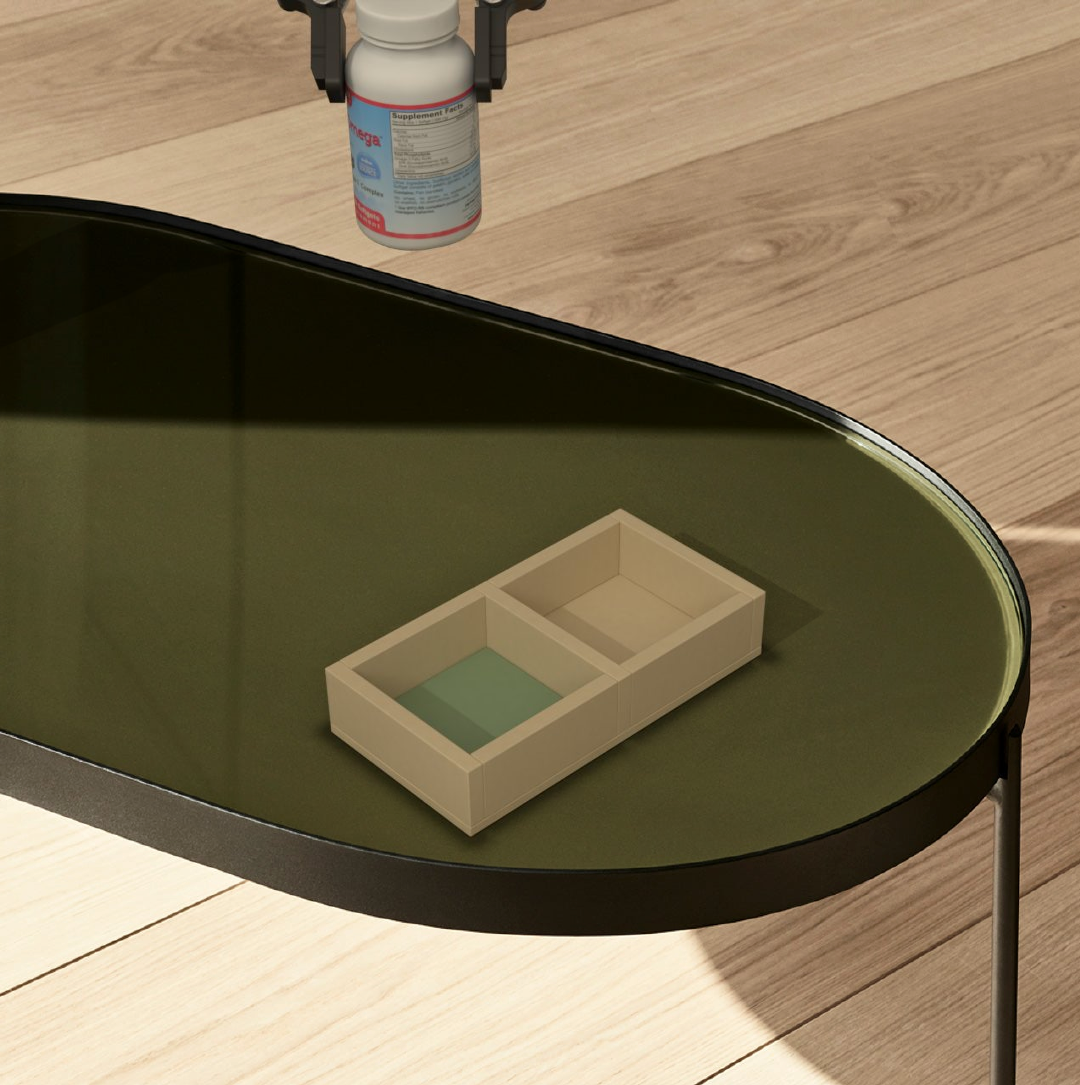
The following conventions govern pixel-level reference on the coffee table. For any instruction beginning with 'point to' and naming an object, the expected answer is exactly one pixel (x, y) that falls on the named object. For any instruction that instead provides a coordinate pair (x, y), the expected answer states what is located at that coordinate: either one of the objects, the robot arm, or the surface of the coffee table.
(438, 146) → the pill bottle
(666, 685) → the holder
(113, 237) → the coffee table surface
